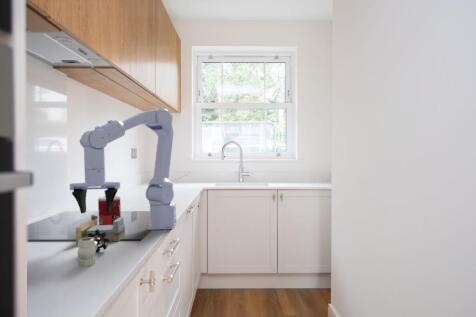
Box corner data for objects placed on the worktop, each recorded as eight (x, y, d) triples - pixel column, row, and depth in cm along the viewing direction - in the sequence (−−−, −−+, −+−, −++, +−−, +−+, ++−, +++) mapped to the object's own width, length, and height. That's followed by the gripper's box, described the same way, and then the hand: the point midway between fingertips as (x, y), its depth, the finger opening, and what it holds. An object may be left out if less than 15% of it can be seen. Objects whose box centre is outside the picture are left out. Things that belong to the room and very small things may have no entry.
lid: (124, 227, 104) (124, 217, 104) (118, 232, 98) (118, 221, 98) (94, 228, 104) (94, 218, 103) (86, 233, 97) (86, 222, 97)
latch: (98, 228, 108) (98, 214, 108) (82, 240, 94) (81, 224, 94) (92, 228, 108) (92, 214, 108) (75, 240, 94) (74, 224, 94)
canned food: (116, 228, 114) (115, 199, 114) (95, 228, 114) (94, 199, 114) (124, 223, 122) (123, 195, 121) (104, 223, 122) (103, 196, 121)
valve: (98, 266, 77) (110, 250, 89) (97, 240, 77) (109, 228, 89) (70, 268, 76) (86, 252, 88) (69, 242, 76) (85, 229, 87)
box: (125, 235, 105) (124, 227, 105) (118, 241, 98) (118, 233, 98) (94, 236, 104) (94, 228, 104) (86, 242, 97) (86, 234, 97)
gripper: (64, 170, 90) (65, 215, 90) (114, 169, 91) (115, 214, 92) (75, 168, 97) (76, 211, 98) (121, 167, 98) (122, 209, 99)
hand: (96, 212), depth 95 cm, fingers open, 7 cm apart
